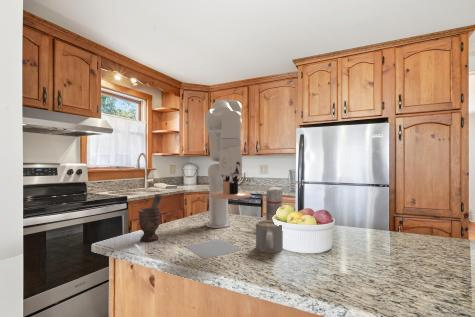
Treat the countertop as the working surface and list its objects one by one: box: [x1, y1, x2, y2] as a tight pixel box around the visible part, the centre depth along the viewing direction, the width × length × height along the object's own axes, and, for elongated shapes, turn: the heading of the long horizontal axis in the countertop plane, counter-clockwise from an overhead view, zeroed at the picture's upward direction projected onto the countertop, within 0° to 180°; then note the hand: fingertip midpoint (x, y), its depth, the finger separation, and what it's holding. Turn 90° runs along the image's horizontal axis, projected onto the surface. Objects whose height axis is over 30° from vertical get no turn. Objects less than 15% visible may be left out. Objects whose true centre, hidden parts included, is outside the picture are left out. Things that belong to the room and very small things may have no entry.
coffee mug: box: [255, 219, 284, 254], centre depth 96 cm, size 13×10×10 cm
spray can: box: [265, 186, 283, 220], centre depth 132 cm, size 8×8×20 cm
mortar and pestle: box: [138, 193, 163, 244], centre depth 107 cm, size 12×9×20 cm
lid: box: [210, 181, 251, 200], centre depth 98 cm, size 15×15×6 cm
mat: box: [184, 238, 243, 260], centre depth 98 cm, size 16×16×1 cm
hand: (230, 192), depth 98 cm, fingers closed on lid, 4 cm apart
